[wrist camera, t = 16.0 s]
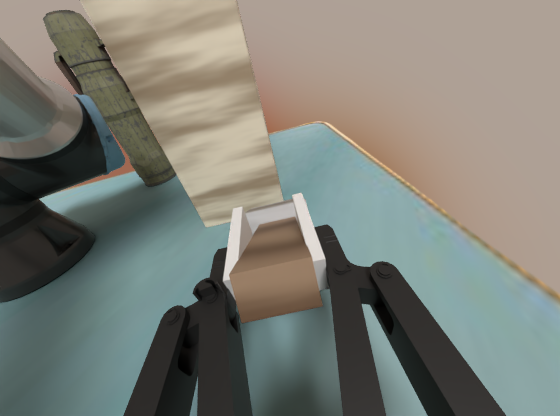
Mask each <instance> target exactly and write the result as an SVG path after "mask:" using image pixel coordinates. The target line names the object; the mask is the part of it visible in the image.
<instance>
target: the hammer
mask: <svg viewBox="0 0 560 416" xmlns="http://www.w3.org/2000/svg"><path fill="white" fill-rule="evenodd" d="M304 201H305V203H306V200H305V199H304ZM306 206H307V204H306ZM307 209H308V208H307ZM245 214H246V217H247V220H248V222H249V225H250V227H251V230H252V238H251V240H250V242H249V243H248V245H247V247H246V248H245V250H244V252H243V253H242V255H241V257H240V258H239V260H238V261H237V262H236V264H235V266H234V267H233V269H232V270H231V272H230V274H229V277H230V281H231V285H232V289H233V292H234V296H235V300H236V304H237V307H238V311H239V315H240V319H241V322H242V323H246V322H250V321H255V320H260V319H265V318H269V317H274V316H279V315H284V314H288V313H293V312H298V311H303V310H308V309H312V308H317V307H322V306H323V305H322V300H321V296H320V291H319V287H318V282H317V278H316V273H315V269H314V264H313V260H312V256H311V253H310V251H309V249H308V246H307V245H306V243H305V241H304V238H303V236H302V233H301V231H300V228H299V225H298V222H297V217H296V212H295V207H294V202H293V199H290V200H285V201H281V202H277V203H272V204H268V205H264V206H259V207H255V208H251V209H250V210H248V211H247V212H245Z"/></svg>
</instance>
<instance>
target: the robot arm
mask: <svg viewBox="0 0 560 416" xmlns="http://www.w3.org/2000/svg"><path fill="white" fill-rule="evenodd" d="M124 163H125V157H124V155H123V153H122V151H121V149H120V147H119V146H118V144H117V142H116V140H115V138H114V137H113V135H112V133H111V131H110V129H109V127H108V126H107V124H106V122H105V120H104V119H103V117H102V115H101V113H100V112H99V110H98V108H97V107H96V105H95V103H94V102H93V100H92V99H91V98H90V97H89V96H87V95H78V94H76V95H72V94H71V93H70V92H69V91H68V90H67V89H65V88H64V87H62V86H61V85H59V84H57V83H55V82H53V81H51V80H48V79H45V78H42V77H37V75H35V73H34V72H33V71H32V70H31V69H30V68H29V67H28V66H27V65H26V64H25V63H24V62H23V61H22V60H21V59H20V58H19V57H18V56H17V55H16V54H15V53H14V52H13V51H12V50H11V49H10V48H9V47H8V46H7V45H6V44H5V43H4V41H3V40H2V39H1V38H0V302H5V301H9V300H13V299H16V298H18V297H21V296H23V295H26V294H28V293H30V292H32V291H34V290H36V289H38V288H40V287H42V286H43V285H45V284H47V283H49V282H50V281H52V280H53V279H55V278H57V277H58V276H59V275H61V274H62V273H64V272H65V271H66V270H68V269H69V268H70V267H72V266H73V265H74V264H75V263H76V262H77V261H79V260H80V259H81V258H82V257H83V256H84V255H85V254H86V252H87V251H88V250H89V249H90V247H91V246H92V244H93V242H94V235H93V234H92V233H91V232H90V231H89V230H88V229H87V228H86V227H85V226H84V225H81V224H79V223H77V222H75V221H73V220H71V219H69V218H67V217H65V216H63V215H61V214H59V213H57V212H55V211H53V210H51V209H49V208H48V207H47V206H46V205H45V204H44V203H43V202H42V201H40V200H39V199H40V198H42V197H45V196H47V195H50V194H53V193H55V192H58V191H61V190H63V189H66V188H69V187H71V186H74V185H77V184H79V183H82V182H84V181H87V180H90V179H93V178H95V177H98V176H101V175H107V174H109V173H110V172H111V171H113V170H116V169H118V168H120V167H122V166H123V165H124ZM292 197H293V202H294V207H295V212H296V217H297V222H298V225H299V228H300V231H301V233H302V236H303V238H304V241H305V243H306V245H307V246H308V249H309V251H310V253H311V256H312V260H313V264H314V269H315V273H316V278H317V282H318V287H319V291H320V290H324V289H330V293H331V303H332V312H333V322H334V332H335V341H336V351H337V360H338V370H339V379H340V389H341V398H342V408H343V416H386V413H385V408H384V404H383V399H382V395H381V390H380V386H379V381H378V377H377V372H376V368H375V363H374V359H373V354H372V350H371V345H370V341H369V336H368V331H367V327H366V322H365V318H364V313H363V309H362V304H369V305H370V306H371V308H372V310H373V311H374V313H375V315H376V317H377V319H378V321H379V323H380V325H381V327H382V329H383V331H384V333H385V334H386V336H387V338H388V340H389V342H390V344H391V346H392V348H393V350H394V352H395V354H396V356H397V357H398V359H399V361H400V363H401V365H402V367H403V369H404V371H405V373H406V375H407V377H408V379H409V380H410V382H411V384H412V386H413V388H414V390H415V392H416V394H417V396H418V398H419V400H420V402H421V404H422V405H423V407H424V409H425V411H426V413H427V415H428V416H506V415H505V413H504V412H503V411H502V409H501V408H500V407H499V405H498V404H497V403H496V401H495V400H494V399H493V397H492V396H491V394H490V393H489V392H488V390H487V389H486V388H485V386H484V385H483V384H482V382H481V381H480V380H479V378H478V377H477V376H476V374H475V373H474V372H473V370H472V369H471V368H470V366H469V365H468V364H467V362H466V361H465V360H464V358H463V357H462V355H461V354H460V353H459V351H458V350H457V349H456V347H455V346H454V345H453V343H452V342H451V341H450V339H449V338H448V337H447V335H446V334H445V333H444V331H443V330H442V329H441V327H440V326H439V325H438V323H437V322H436V321H435V319H434V318H433V317H432V315H431V314H430V312H429V311H428V310H427V308H426V307H425V306H424V304H423V303H422V302H421V300H420V299H419V298H418V296H417V295H416V294H415V292H414V291H413V290H412V288H411V287H410V286H409V284H408V283H407V282H406V280H405V279H404V278H403V276H402V275H401V273H400V272H399V271H398V269H397V268H396V267H395V266H394V265H392V264H390V263H388V262H383V261H382V262H376V263H374V264H373V265H372V266H371V267H362V266H357V265H354V264H352V263H350V262H349V261H348V260H347V258H346V256H345V254H344V252H343V250H342V248H341V246H340V244H339V241H338V239H337V237H336V235H335V233H334V231H333V229H332V228H331V227H330V226H329V225H323V226H318V227H314V226H313V223H312V220H311V217H310V214H309V212H308V209H307V206H306V203H305V201H304V198H303V195H302V193H299V194H294V195H292ZM251 238H252V230H251V227H250V225H249V222H248V220H247V217H246V214H245V212H244V209H243V207H238V208H233V212H232V219H231V226H230V234H229V241H228V247H226V248H222V249H218V250H217V252H216V254H215V255H214V259H213V264H212V269H211V274H210V278H205V279H203V280H202V281H200V282H199V283H198V284H197V285H196V286H195V288H194V291H193V294H194V295H195V297H196V298H197V299H198V300H199V301H197V302H196V303H194V304H192V305H190V306H188V307H186V308H184V307H183V306H178V305H177V306H174V307H172V308H171V309H169V310H168V311H167V312H166V313H165V314H164V315H163V317H162V319H161V321H160V324H159V326H158V329H157V331H156V334H155V337H154V339H153V342H152V344H151V347H150V349H149V352H148V354H147V357H146V359H145V362H144V365H143V367H142V370H141V372H140V375H139V377H138V380H137V382H136V385H135V387H134V390H133V393H132V395H131V398H130V400H129V403H128V405H127V408H126V410H125V413H124V415H123V416H189V415H190V410H191V406H192V401H193V396H194V391H195V386H196V382H197V377H198V408H197V416H253V415H252V408H251V401H250V394H249V386H248V379H247V372H246V365H245V358H244V351H243V344H242V337H241V330H240V323H239V316H238V313H237V311H236V300H235V296H234V292H233V289H232V285H231V281H230V277H229V274H230V272H231V270H232V269H233V267H234V266H235V264H236V262H237V261H238V260H239V258H240V257H241V255H242V253H243V252H244V250H245V248H246V247H247V245H248V243H249V242H250V240H251Z"/></svg>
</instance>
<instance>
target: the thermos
mask: <svg viewBox="0 0 560 416" xmlns="http://www.w3.org/2000/svg"><path fill="white" fill-rule="evenodd" d="M43 20H44V23H45V26H46V29H47V32H48V34H49V37H50V39H51V40H52V42H53V43H54V45H55V46H56V48H57V50H58V51H56V52H55V53H54V59H55V63H56V64H57V66H58V67H59V68H60V70H61V71H62V73H63V74H64V75H65V77H66V78H67V79H68V81H69V82H70V84H71V85H72V86H73V88H74V89H75V90H76V92H77V93H78V95H87V96H89V97H90V98H91V99H92V100H93V102H94V103H95V105H96V107H97V108H98V110H99V112H100V113H101V115H102V117H103V119H104V120H105V122H106V124H107V125H108V127H109V128H110V129H111V131H112V132H113V134H114V135H115V137H116V138H117V140H118V141H119V143H120V144H121V146H122V147H123V149H124V150H125V152H126V153H127V155H128V156H129V159H130V163H131V165H132V166H133V168H134V169H135V171H136V172H137V174H138V175H139V177H141V178H142V179H143V181H144V182H145V184H146V185H147V186H155V185H159V184H162V183H164V182H166V181H168V180H170V179H172V178H173V177H174V176H175V175H176V172H175V171H174V169H173V167H172V165H171V163H170V162H169V160H168V158H167V156H166V154H165V153H164V151H163V149H162V147H161V146H160V145H159V143H158V141H157V139H156V138H155V136H154V134H153V132H152V130H151V129H150V127H149V125H148V123H147V121H146V120H145V118H144V116H143V114H142V112H141V110H140V108H139V106H138V104H137V102H136V101H135V99H134V97H133V95H132V93H131V92H130V90H129V88H128V86H127V84H126V83H125V81H124V79H123V77H122V76H121V75H120V74H119V73H118V71H117V69H116V68H114V66H113V64H112V62H111V58H110V57H109V55H108V53H107V51H106V50H105V48H104V47H105V45H104V43H103V41H102V40H100V39H99V37H98V35H97V34H96V32H95V30H94V29H93V28H92V27H91V25H89V23H88V22H87V21H86V20H85V19H84V17H83V16H82V15H81V14H79V13H75V12H74V11H70V10H59V11H53V12H49V13H47V14H46V16H45V17H44V18H43ZM70 68H72V69H73V71H74V73H75V74H76V76H75V75H74V73H73V72H72V70H71V69H70Z"/></svg>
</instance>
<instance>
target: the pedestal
mask: <svg viewBox="0 0 560 416" xmlns="http://www.w3.org/2000/svg"><path fill="white" fill-rule="evenodd" d="M80 2H81V4H82V5H83V7H84V9H85V11H86V13H87V14H88V16H89V18H90V20H91V21H92V23H93V25H94V27H95V29H96V31H97V32H98V34H99V36H100V38H101V40H102V41H103V43H104V45H105V47H106V48H107V50H108V52H109V54H110V56H111V57H112V59H113V61H114V63H115V65H116V66H117V68H118V70H119V72H120V74H121V75H122V77H123V79H124V81H125V83H126V84H127V86H128V88H129V90H130V92H131V93H132V95H133V97H134V99H135V101H136V102H137V104H138V106H139V108H140V110H141V111H142V113H143V115H144V117H145V119H146V120H147V122H148V124H149V126H150V127H151V129H152V131H153V133H154V135H155V136H156V138H157V140H158V141H159V144H160V145H161V147H162V149H163V151H164V153H165V154H166V156H167V158H168V160H169V162H170V163H171V165H172V167H173V169H174V171H175V172H176V174H177V176H178V178H179V180H180V181H181V183H182V185H183V187H184V189H185V190H186V192H187V194H188V196H189V197H190V199H191V201H192V203H193V205H194V206H195V208H196V210H197V212H198V214H199V215H200V217H201V219H202V221H203V223H204V224H205V226H206V227H211V226H215V225H219V224H224V223H228V222H231V219H232V212H233V208H238V207H243V209H244V212H247V211H248V210H250V209H251V208H255V207H259V206H264V205H268V204H272V203H277V202H281V201H283V196H282V191H281V186H280V182H279V177H278V173H277V169H276V165H275V160H274V156H273V152H272V148H271V143H270V139H269V135H268V131H267V127H266V122H265V118H264V114H263V109H262V105H261V101H260V97H259V93H258V89H257V84H256V80H255V75H254V71H253V67H252V62H251V59H250V54H249V50H248V46H247V41H246V37H245V33H244V29H243V24H242V20H241V16H240V12H239V7H238V3H237V0H80Z"/></svg>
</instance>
